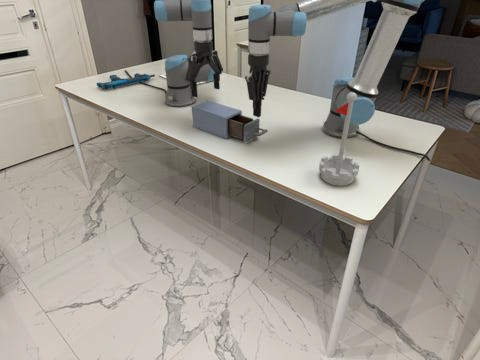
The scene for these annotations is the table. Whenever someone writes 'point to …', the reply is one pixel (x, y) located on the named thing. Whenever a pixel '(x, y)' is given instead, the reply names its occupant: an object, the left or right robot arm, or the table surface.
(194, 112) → the cabinet
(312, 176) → the table surface
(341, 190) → the table surface
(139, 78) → the submachine gun
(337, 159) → the flag stand
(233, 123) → the drawer
